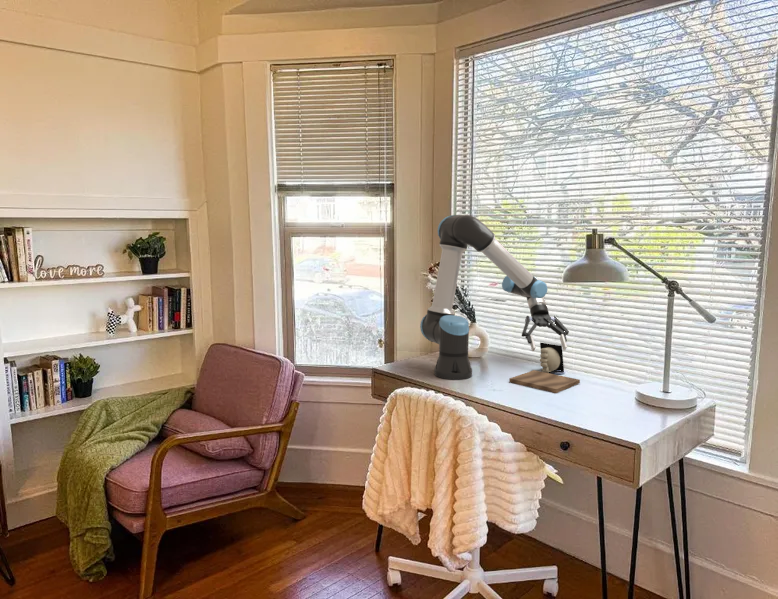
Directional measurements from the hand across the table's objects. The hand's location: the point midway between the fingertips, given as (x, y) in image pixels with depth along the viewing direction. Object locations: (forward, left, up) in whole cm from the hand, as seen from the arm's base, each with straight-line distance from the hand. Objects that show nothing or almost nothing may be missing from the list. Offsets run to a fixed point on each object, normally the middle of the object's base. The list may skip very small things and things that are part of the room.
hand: (549, 349), depth 243 cm
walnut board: (+9, -20, -9) cm, 23 cm away
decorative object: (+2, -4, -9) cm, 10 cm away
